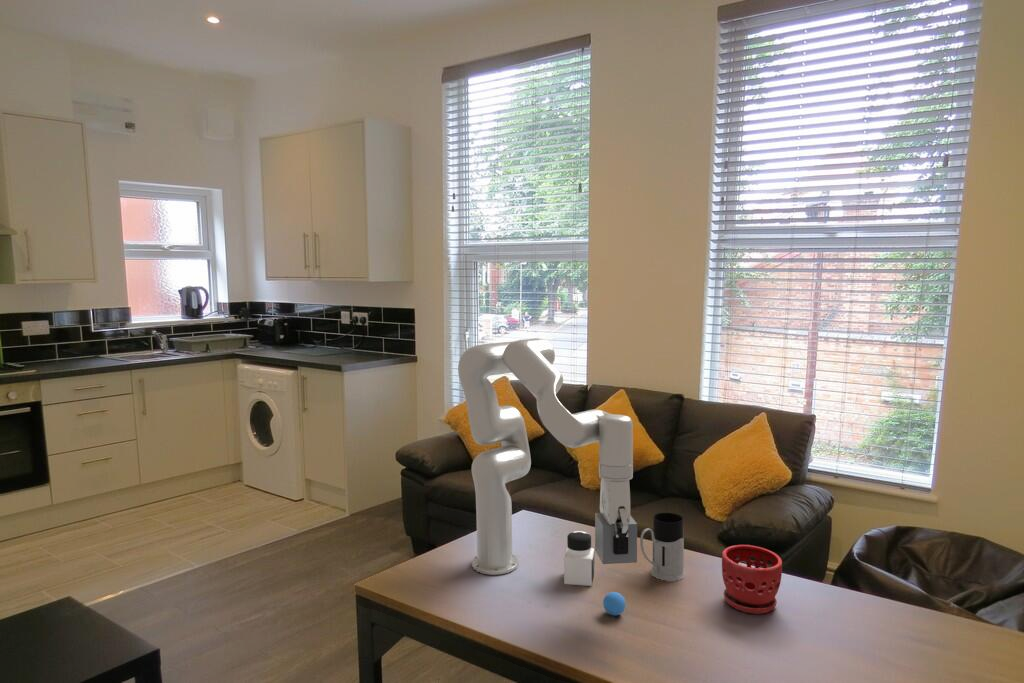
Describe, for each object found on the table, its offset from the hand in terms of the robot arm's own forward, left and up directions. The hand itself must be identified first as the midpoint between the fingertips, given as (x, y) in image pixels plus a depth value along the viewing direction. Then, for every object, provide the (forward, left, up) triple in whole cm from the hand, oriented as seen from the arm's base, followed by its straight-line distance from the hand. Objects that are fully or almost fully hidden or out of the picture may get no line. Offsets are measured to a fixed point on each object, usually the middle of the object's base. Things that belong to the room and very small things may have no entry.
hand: (615, 545), depth 145 cm
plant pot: (0, +32, -16) cm, 36 cm away
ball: (0, 0, -13) cm, 13 cm away
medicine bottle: (-18, -5, -16) cm, 25 cm away
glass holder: (-17, +16, -16) cm, 28 cm away
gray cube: (0, 0, -2) cm, 2 cm away
